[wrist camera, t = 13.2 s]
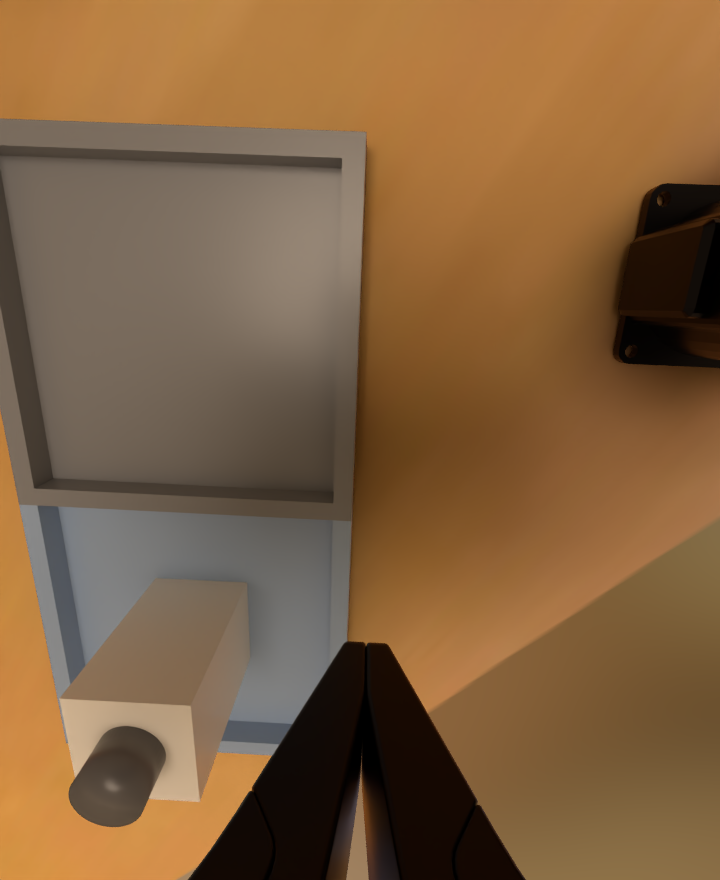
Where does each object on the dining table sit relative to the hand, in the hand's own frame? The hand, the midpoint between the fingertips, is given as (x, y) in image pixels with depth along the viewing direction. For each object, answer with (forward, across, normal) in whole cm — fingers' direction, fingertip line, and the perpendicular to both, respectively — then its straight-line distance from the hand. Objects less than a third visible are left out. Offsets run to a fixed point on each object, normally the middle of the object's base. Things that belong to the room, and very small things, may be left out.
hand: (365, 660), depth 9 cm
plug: (+12, +8, +9) cm, 17 cm away
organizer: (+12, +8, +2) cm, 15 cm away
